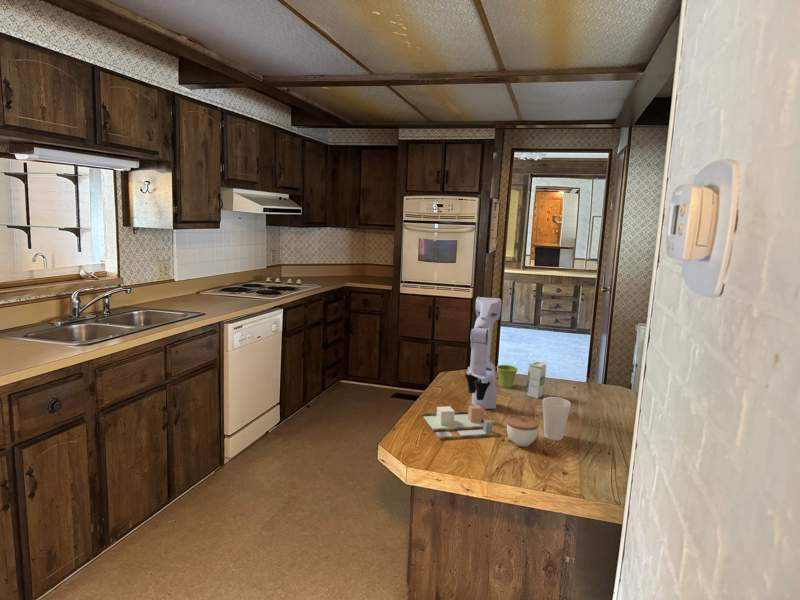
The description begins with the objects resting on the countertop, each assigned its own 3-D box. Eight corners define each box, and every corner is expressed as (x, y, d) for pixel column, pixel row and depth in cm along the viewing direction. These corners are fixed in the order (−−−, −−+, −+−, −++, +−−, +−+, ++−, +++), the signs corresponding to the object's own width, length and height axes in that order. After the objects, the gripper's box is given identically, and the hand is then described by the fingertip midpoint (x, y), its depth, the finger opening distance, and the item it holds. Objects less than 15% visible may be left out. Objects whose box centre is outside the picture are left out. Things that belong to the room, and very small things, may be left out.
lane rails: (472, 415, 213) (472, 410, 213) (497, 439, 191) (497, 434, 191) (420, 417, 208) (420, 413, 208) (439, 443, 186) (439, 438, 186)
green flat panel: (472, 415, 212) (473, 400, 211) (486, 428, 199) (487, 413, 198) (422, 418, 206) (423, 403, 206) (433, 432, 194) (434, 415, 193)
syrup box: (530, 392, 243) (533, 360, 241) (543, 395, 240) (546, 363, 238) (525, 395, 239) (528, 363, 236) (538, 399, 235) (541, 366, 233)
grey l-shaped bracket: (488, 431, 197) (489, 418, 196) (494, 436, 192) (495, 423, 192) (456, 433, 194) (457, 420, 193) (461, 438, 189) (462, 425, 189)
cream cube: (449, 419, 205) (449, 406, 204) (453, 424, 200) (454, 411, 199) (436, 419, 204) (437, 406, 203) (440, 425, 199) (441, 411, 198)
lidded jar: (540, 440, 192) (542, 414, 190) (533, 452, 182) (536, 425, 181) (509, 434, 196) (511, 408, 195) (501, 445, 186) (503, 418, 185)
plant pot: (518, 385, 253) (519, 366, 252) (513, 390, 245) (515, 371, 243) (498, 381, 257) (499, 363, 256) (493, 387, 249) (494, 368, 247)
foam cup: (552, 443, 189) (555, 407, 187) (534, 433, 197) (537, 398, 195) (573, 439, 194) (576, 404, 192) (554, 430, 202) (557, 395, 200)
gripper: (461, 355, 207) (458, 390, 209) (475, 366, 193) (473, 403, 195) (478, 355, 209) (476, 389, 211) (494, 365, 195) (491, 402, 197)
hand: (476, 396), depth 203 cm, fingers open, 7 cm apart
